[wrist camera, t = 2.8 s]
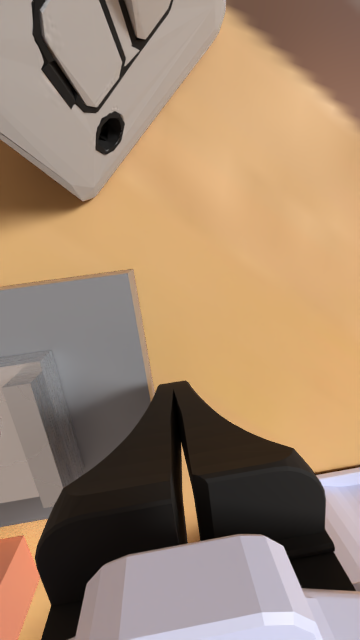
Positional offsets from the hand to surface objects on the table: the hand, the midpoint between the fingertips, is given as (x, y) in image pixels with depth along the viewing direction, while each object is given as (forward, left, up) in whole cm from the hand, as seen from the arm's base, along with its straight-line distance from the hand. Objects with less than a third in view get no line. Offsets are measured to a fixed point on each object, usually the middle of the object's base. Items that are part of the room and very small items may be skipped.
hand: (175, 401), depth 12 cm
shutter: (+8, 0, 0) cm, 8 cm away
